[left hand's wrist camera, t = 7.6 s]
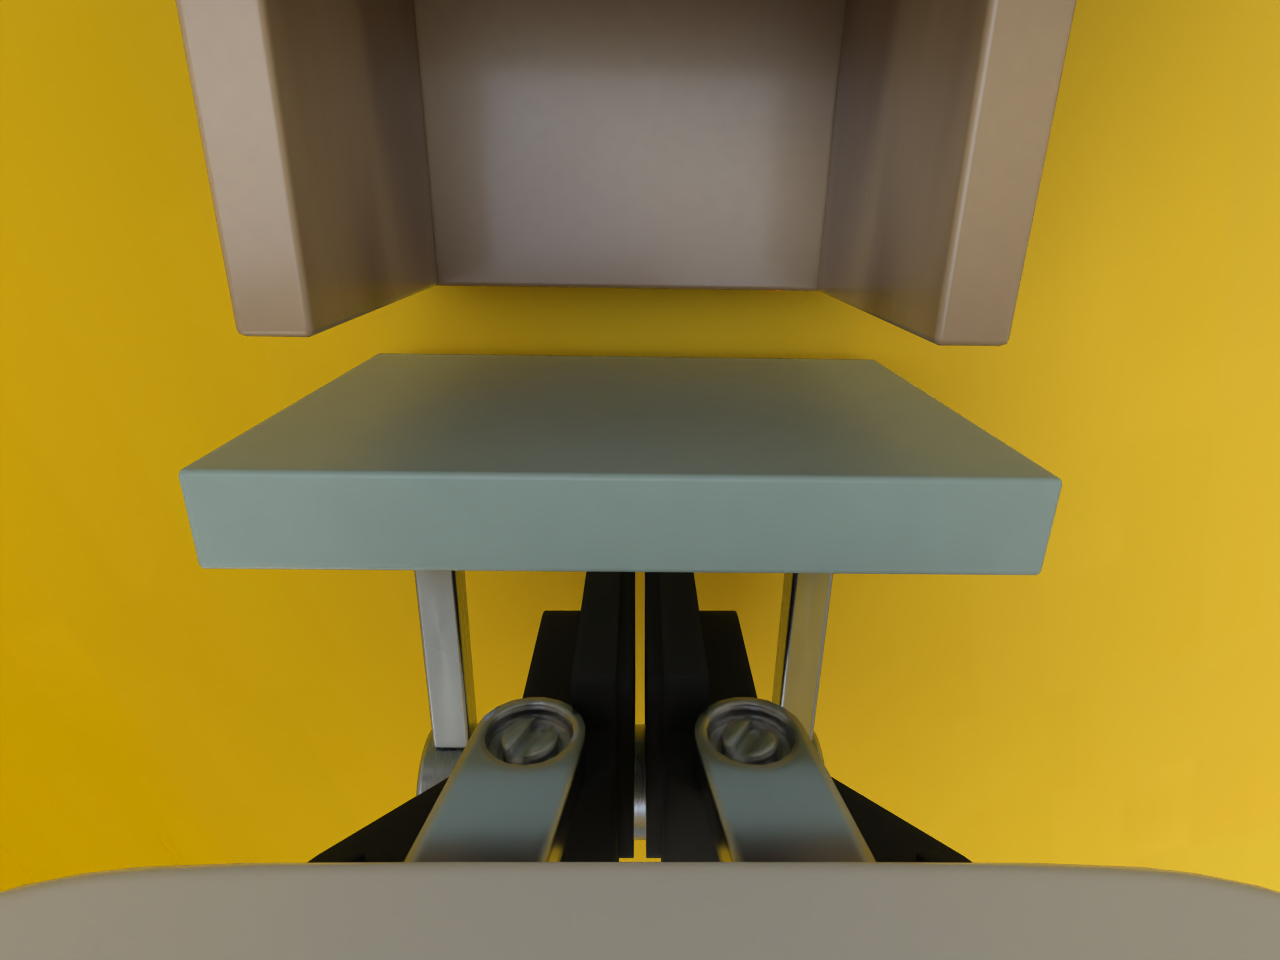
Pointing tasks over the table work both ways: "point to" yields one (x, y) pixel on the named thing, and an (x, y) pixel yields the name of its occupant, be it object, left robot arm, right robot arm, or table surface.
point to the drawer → (623, 258)
